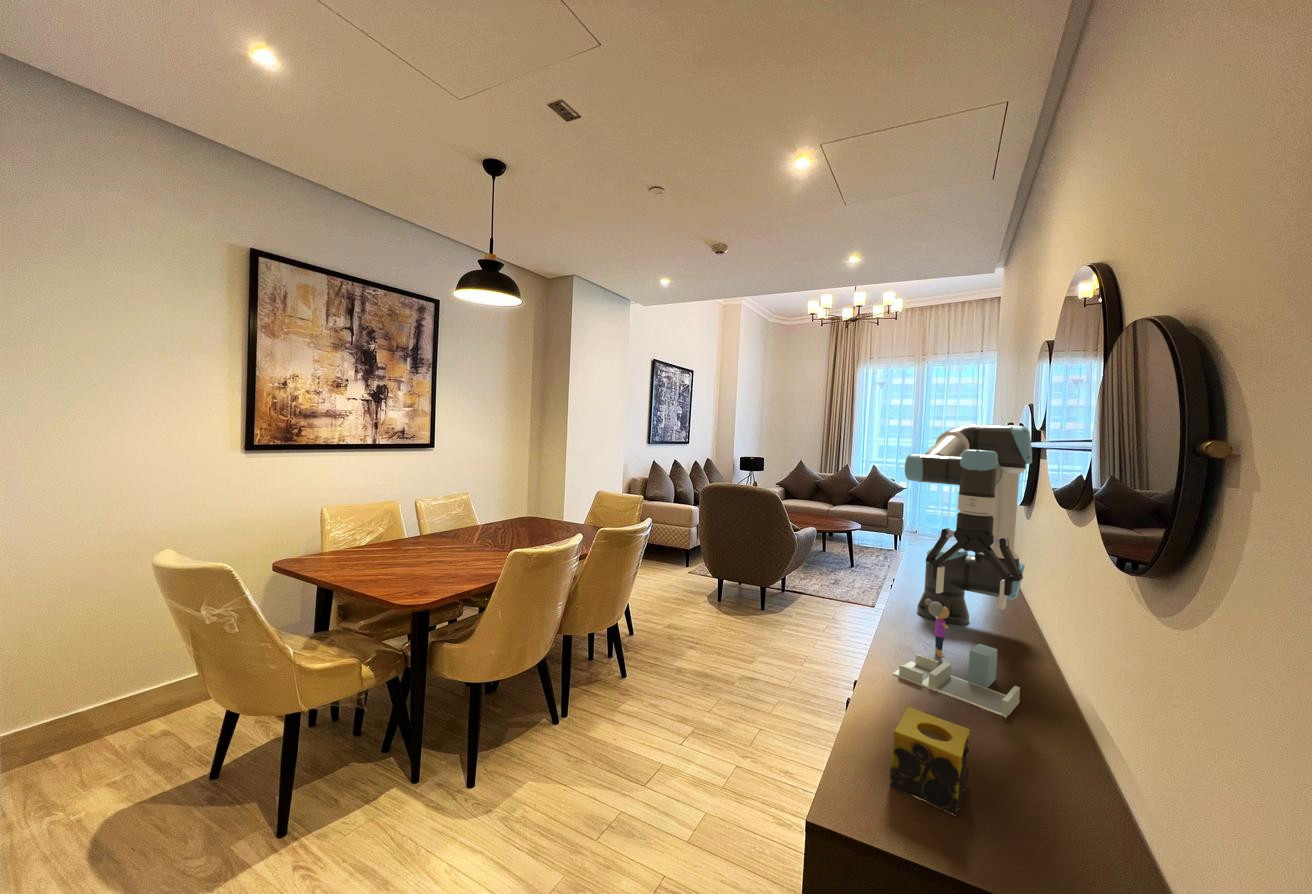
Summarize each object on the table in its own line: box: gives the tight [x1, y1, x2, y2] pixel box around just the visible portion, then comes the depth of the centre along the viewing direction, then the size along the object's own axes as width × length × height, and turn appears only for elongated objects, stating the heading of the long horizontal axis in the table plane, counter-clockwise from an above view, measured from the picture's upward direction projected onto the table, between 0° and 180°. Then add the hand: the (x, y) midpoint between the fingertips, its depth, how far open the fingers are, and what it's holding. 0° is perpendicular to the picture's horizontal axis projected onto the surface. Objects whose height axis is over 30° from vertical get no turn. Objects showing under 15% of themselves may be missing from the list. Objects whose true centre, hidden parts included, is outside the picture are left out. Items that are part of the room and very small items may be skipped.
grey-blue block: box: [967, 643, 998, 689], centre depth 122 cm, size 7×4×8 cm, turn 132°
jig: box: [892, 653, 1021, 719], centre depth 118 cm, size 11×24×4 cm, turn 42°
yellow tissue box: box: [889, 706, 971, 816], centre depth 83 cm, size 10×10×10 cm
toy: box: [925, 599, 949, 658], centre depth 136 cm, size 10×6×15 cm, turn 168°
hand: (969, 600), depth 122 cm, fingers open, 13 cm apart
